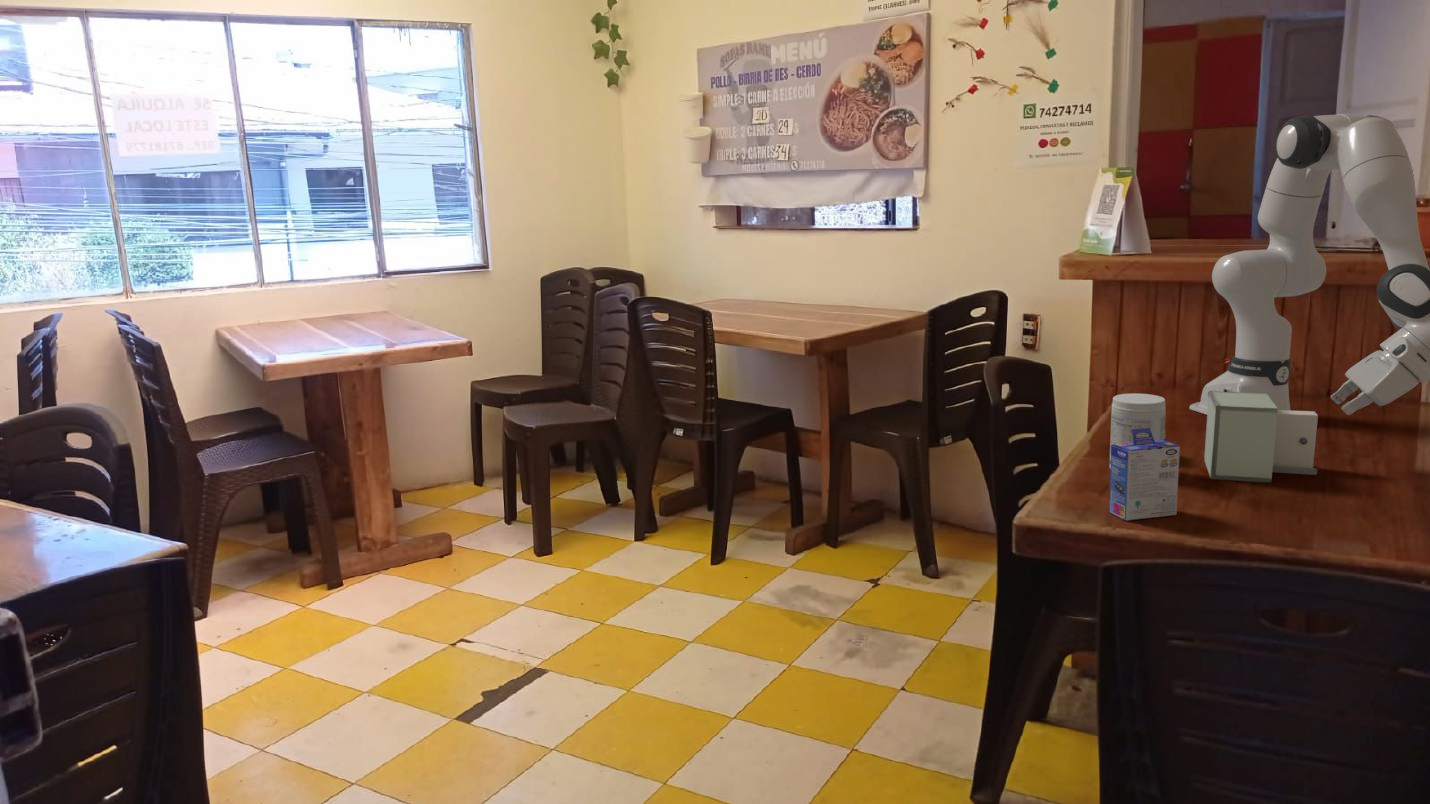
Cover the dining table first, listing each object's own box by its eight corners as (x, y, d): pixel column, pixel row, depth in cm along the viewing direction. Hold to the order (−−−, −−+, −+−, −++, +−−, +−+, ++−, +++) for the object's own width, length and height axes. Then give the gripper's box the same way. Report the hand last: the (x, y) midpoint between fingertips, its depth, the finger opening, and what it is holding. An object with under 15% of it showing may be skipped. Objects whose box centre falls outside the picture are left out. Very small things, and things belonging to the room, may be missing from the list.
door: (1309, 467, 190) (1314, 411, 188) (1313, 472, 186) (1318, 416, 184) (1268, 464, 192) (1272, 409, 190) (1271, 470, 189) (1276, 414, 186)
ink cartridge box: (1157, 506, 170) (1162, 424, 167) (1178, 516, 165) (1184, 432, 162) (1106, 511, 168) (1110, 429, 165) (1125, 521, 163) (1130, 437, 160)
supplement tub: (1133, 463, 197) (1137, 390, 194) (1173, 474, 188) (1178, 399, 185) (1097, 470, 193) (1101, 396, 190) (1137, 482, 184) (1141, 405, 181)
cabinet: (1309, 464, 191) (1316, 394, 188) (1324, 486, 178) (1332, 410, 175) (1203, 458, 198) (1208, 390, 195) (1210, 478, 184) (1216, 405, 182)
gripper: (1379, 335, 188) (1315, 383, 194) (1408, 352, 170) (1337, 405, 175) (1404, 359, 187) (1339, 406, 193) (1436, 379, 169) (1363, 431, 175)
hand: (1338, 406), depth 184 cm, fingers open, 8 cm apart
